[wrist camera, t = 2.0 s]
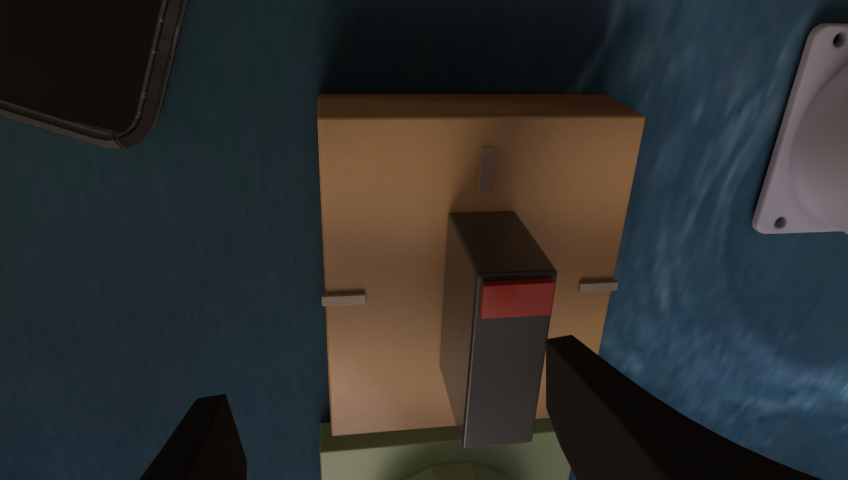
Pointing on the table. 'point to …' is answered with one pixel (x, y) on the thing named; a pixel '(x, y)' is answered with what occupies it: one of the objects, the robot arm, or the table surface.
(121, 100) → the phone
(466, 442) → the red-striped dark box
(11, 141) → the table surface
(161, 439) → the table surface
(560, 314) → the control panel
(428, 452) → the button box
